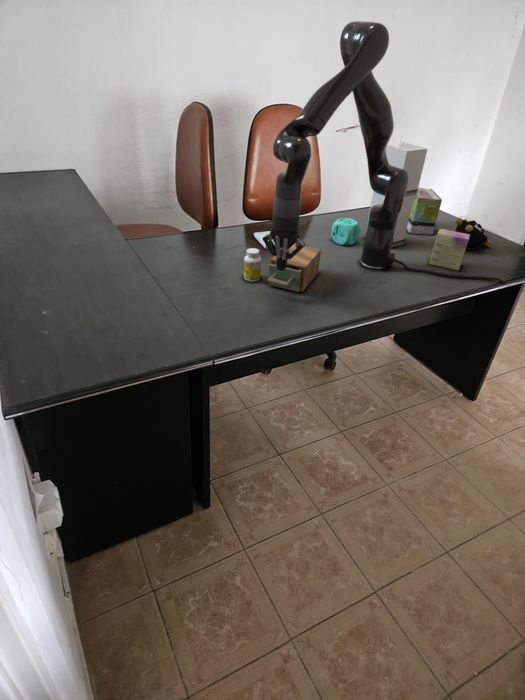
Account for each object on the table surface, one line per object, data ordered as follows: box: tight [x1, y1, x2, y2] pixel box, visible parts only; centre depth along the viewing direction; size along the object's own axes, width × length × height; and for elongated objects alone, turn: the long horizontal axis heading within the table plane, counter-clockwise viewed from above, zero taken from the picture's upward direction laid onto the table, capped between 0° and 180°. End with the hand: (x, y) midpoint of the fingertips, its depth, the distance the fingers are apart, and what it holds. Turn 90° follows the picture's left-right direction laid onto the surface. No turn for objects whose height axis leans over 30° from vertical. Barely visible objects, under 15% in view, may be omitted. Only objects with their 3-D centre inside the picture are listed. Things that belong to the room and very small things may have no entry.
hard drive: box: [253, 230, 276, 250], centre depth 179 cm, size 2×8×12 cm
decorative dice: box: [330, 217, 361, 246], centre depth 181 cm, size 8×8×8 cm
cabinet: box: [269, 243, 322, 293], centre depth 153 cm, size 15×11×8 cm
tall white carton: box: [364, 141, 428, 248], centre depth 176 cm, size 11×11×35 cm
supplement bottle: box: [243, 247, 262, 283], centre depth 151 cm, size 5×5×10 cm
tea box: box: [406, 187, 443, 235], centre depth 195 cm, size 15×10×15 cm, turn 179°
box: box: [428, 228, 470, 272], centre depth 167 cm, size 10×6×12 cm, turn 65°
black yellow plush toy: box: [454, 217, 493, 250], centre depth 181 cm, size 12×15×15 cm
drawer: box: [266, 263, 303, 293], centre depth 149 cm, size 20×10×7 cm, turn 156°
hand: (281, 269), depth 141 cm, fingers closed
